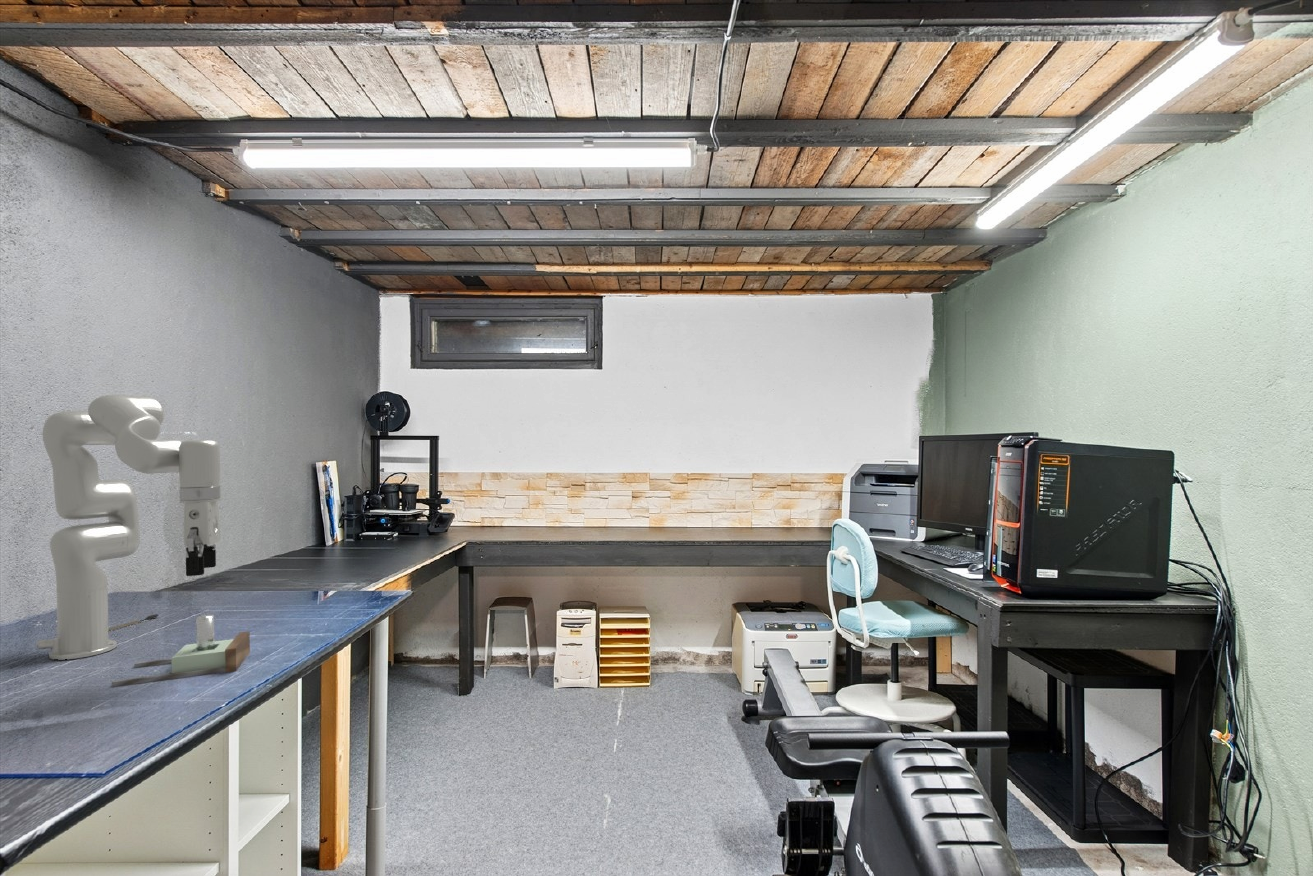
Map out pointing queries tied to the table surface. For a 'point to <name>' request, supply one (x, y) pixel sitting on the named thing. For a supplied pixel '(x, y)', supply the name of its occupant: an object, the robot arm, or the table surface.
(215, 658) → the sliding block
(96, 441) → the robot arm
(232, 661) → the rail board
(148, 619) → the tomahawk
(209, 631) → the grey round-ended peg
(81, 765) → the table surface
